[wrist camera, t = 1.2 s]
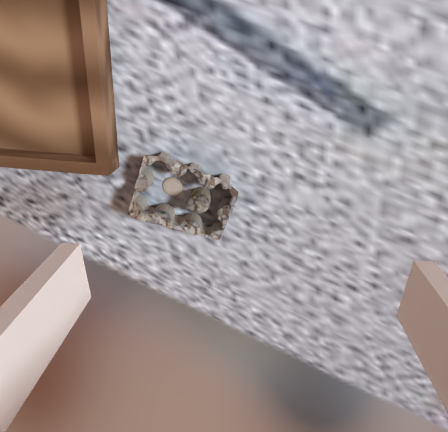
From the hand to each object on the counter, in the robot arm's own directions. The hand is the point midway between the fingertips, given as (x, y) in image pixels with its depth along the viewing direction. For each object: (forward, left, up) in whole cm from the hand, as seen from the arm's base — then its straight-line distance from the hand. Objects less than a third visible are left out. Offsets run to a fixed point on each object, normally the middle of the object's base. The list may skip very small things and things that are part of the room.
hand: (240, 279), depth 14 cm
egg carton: (+6, -6, -25) cm, 26 cm away
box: (-5, -23, -24) cm, 34 cm away
